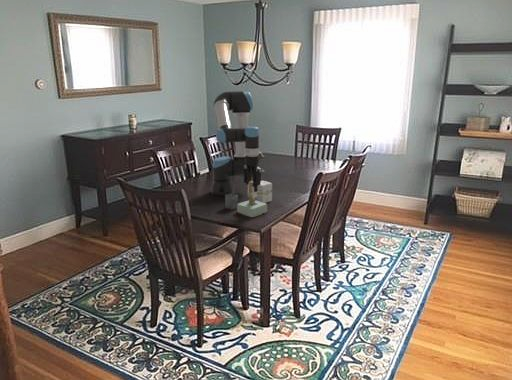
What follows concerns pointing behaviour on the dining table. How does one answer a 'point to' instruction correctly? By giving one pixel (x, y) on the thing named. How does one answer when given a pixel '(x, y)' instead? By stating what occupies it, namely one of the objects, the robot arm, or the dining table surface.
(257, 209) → the socket block
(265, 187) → the ink box
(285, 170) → the dining table surface
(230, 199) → the dark grey block
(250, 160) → the robot arm
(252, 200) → the birch dowel
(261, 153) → the cherub figurine
